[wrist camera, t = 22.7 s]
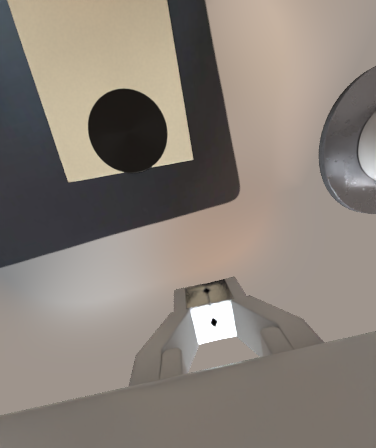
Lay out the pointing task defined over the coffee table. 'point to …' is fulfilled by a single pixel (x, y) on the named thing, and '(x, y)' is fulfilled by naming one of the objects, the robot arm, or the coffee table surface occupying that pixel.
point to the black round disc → (127, 130)
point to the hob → (100, 70)
